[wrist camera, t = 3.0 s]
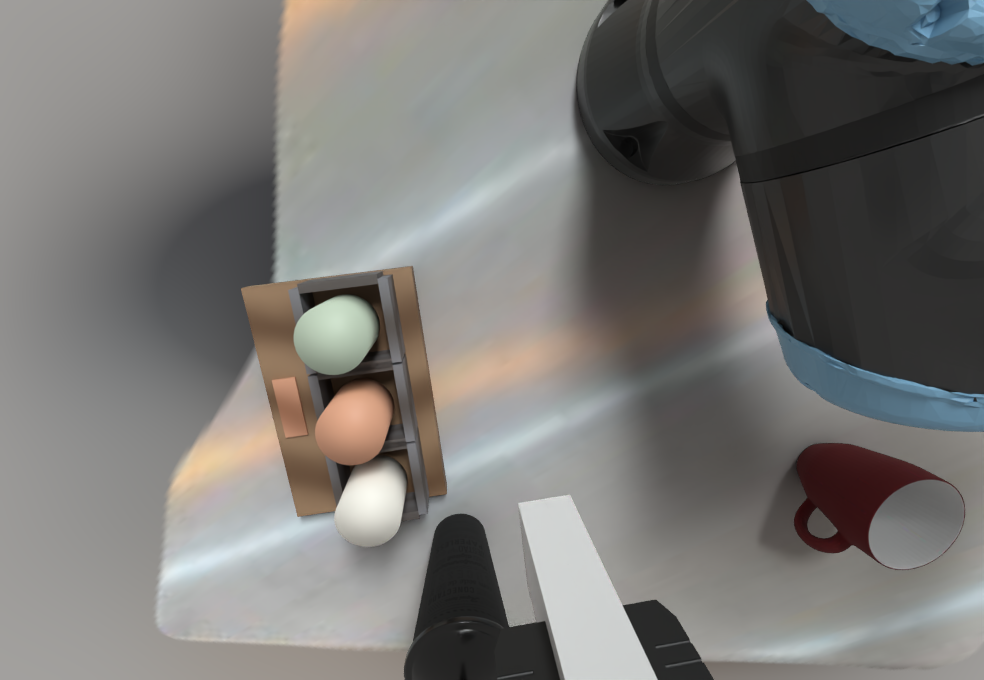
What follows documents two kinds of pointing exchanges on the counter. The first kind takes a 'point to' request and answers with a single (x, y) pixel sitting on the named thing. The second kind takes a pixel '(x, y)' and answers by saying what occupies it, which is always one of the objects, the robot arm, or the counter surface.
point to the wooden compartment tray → (309, 392)
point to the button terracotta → (355, 422)
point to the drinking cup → (457, 607)
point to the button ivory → (372, 502)
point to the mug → (878, 505)
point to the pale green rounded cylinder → (336, 334)
